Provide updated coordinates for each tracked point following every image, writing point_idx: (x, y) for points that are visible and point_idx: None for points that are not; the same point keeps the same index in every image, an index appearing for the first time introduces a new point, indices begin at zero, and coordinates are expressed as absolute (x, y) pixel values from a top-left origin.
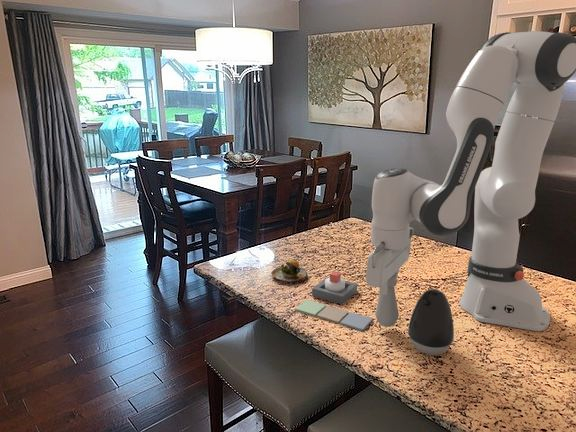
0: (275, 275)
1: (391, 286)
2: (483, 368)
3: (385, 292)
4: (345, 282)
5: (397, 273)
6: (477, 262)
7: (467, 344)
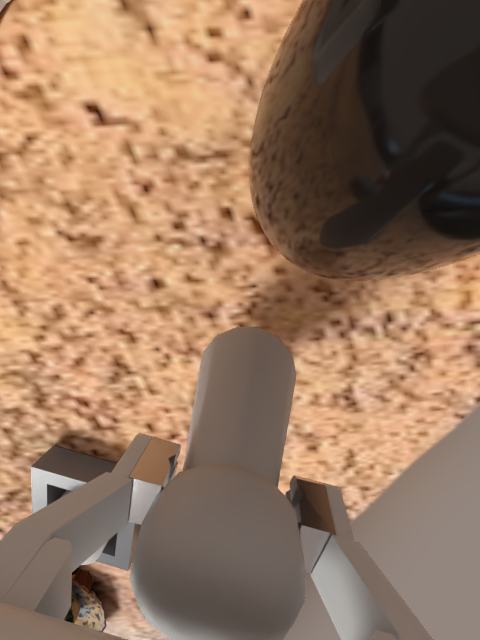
0: (82, 623)
1: (289, 505)
2: None
3: (342, 508)
4: (42, 497)
5: (69, 518)
6: None
7: (259, 20)
